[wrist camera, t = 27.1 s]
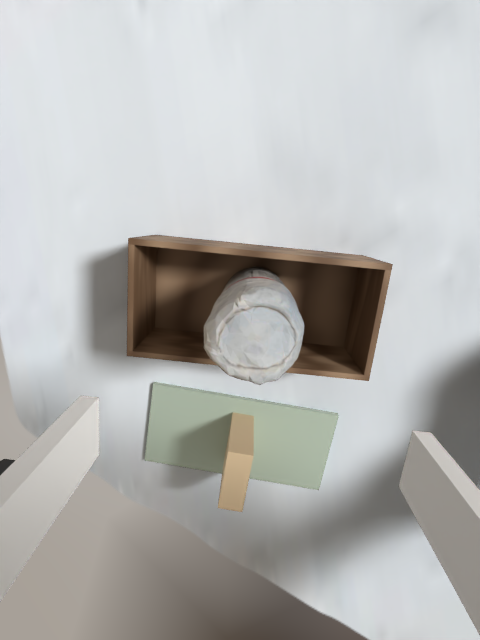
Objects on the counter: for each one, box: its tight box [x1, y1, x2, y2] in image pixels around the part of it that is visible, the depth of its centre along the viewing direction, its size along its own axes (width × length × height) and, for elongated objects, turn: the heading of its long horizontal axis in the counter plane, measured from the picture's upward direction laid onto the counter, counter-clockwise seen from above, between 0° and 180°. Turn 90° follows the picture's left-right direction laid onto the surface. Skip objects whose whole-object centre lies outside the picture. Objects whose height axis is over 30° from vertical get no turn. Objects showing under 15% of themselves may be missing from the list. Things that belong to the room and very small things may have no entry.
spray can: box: [203, 266, 304, 385], centre depth 36 cm, size 8×8×20 cm
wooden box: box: [127, 235, 393, 381], centre depth 42 cm, size 26×12×10 cm, turn 85°
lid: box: [145, 382, 338, 512], centre depth 48 cm, size 26×12×10 cm, turn 81°
